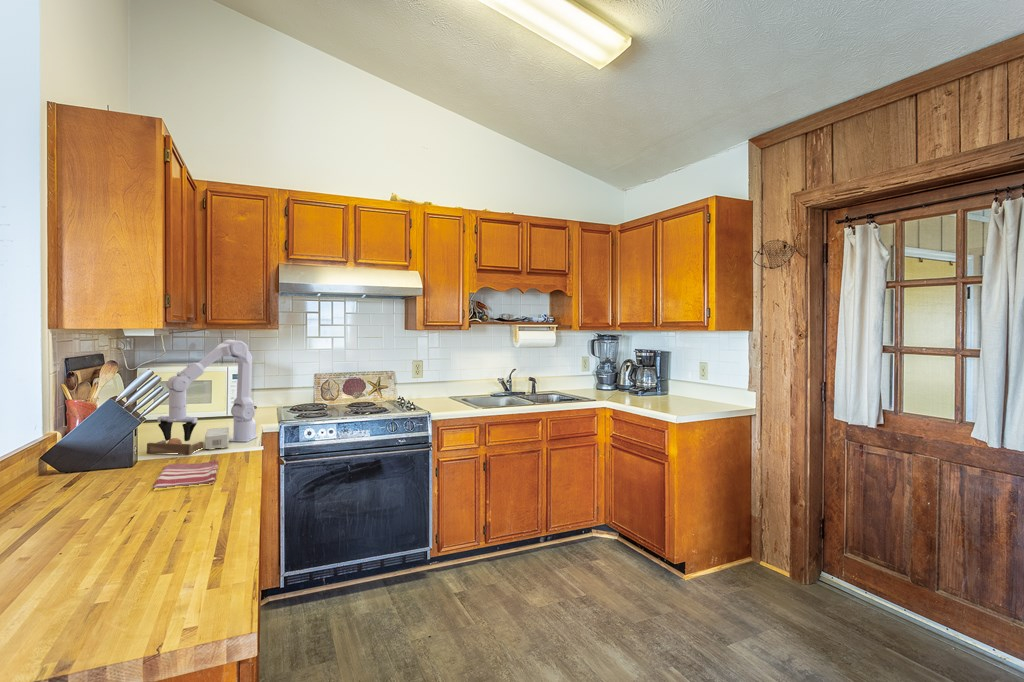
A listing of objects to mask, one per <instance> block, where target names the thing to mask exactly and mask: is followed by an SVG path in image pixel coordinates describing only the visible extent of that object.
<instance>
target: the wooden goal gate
mask: <svg viewBox="0 0 1024 682" xmlns="http://www.w3.org/2000/svg"><path fill="white" fill-rule="evenodd" d="M201 448H203V449H204V441H199V442H196V443H193V444H191V443H182V444H172V443H167V441H165V439H163V440H160V441H158V442H148V443H146V454H147V453H178V454H183V455H182V456H190V455H193V454H194V453H193V452H194V451H196V450H198V449H201ZM192 453H193V454H192Z"/></svg>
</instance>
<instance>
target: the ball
mask: <svg viewBox="0 0 1024 682" xmlns="http://www.w3.org/2000/svg"><path fill="white" fill-rule="evenodd" d="M166 443H172V444H183V441H182V440H181V439H180V438H178V437H173V438H172V437H171V439H170V440H168V441H166Z"/></svg>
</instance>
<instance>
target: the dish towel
mask: <svg viewBox="0 0 1024 682" xmlns="http://www.w3.org/2000/svg"><path fill="white" fill-rule="evenodd" d="M218 468H219V460H212V461H207V462H200V463H171V464H167V465H164V466H163V467H162V469H161V472H160V474H159V475H158V477H157V478H156V481H155V482H154V484H153V488H154V489H155V488H167V487H175V486H189V485H199V484H209V483H213V484H214V483H215V482H216V481H215V479H216V480H217V471H218ZM214 481H215V482H214Z"/></svg>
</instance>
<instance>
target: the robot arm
mask: <svg viewBox="0 0 1024 682" xmlns="http://www.w3.org/2000/svg"><path fill="white" fill-rule="evenodd" d="M229 356H230V357H232V358H234V359H235V360H236V361H237V362H238V363H237V378H236V379H237V381H236V398H234V400H233V405H232V406H231V408H230V414H231V415H232V416H233V433H232V434H233V435H232V436H233V438H231V439H229V442H236V443H237V442H241V443H248V442H250V441H252V440H254V439H257V438H258V437H259V436H258V435H257V421H256V420H255V419H254V417H255V414H256V408H255V407H254V405H255V404H254V403H255V402H254V401H253V399H252V398H251V394H252V374H253V373H252V372H253V356H252V354H251V352H250V350H249V346H248V344H246V342H244V341H242V340H233V339H226V340H224V341H222V342H220V343H219V344H218V345H217V346H216V347H215V348H214V349H212V350H211V351H210V352H208V354H207V355H205V356H204V357H203V358H202V359H200V361H198V362H192V363H188V364H186V367H185V368H183V369H182V371H180V372H179V371H178V372H177V373H176V375H173V376H171V377H170V378H168V381H166V383H165V385H166V387H167V389H168V416H167V415H166V416H162V415H160V416H158V417H157V423H158V425H157V426H158V427H159V428H160V430H161V432H162V435H163V436H164V440H165V441H166V442H168V441H169V440H170V439H172V429H173V428H172V427H173V423H182V429H183V439H184V442H189V441H190V440H191V436H192V433H193V430H194V428H195V427H196V426H197V423H198V417H194V416H193V417H192V416H187V390H188V389H189V387H190V385H191V384H192V383H193V382H194V381H195V380H197V379H198V378H199V377H201V376H202V375H203V374H204V373H205V369H207V367H209V366H210V365H212V364H213V363H214V362H216V361H218V360H219V359H220V358H223V357H229Z"/></svg>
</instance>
